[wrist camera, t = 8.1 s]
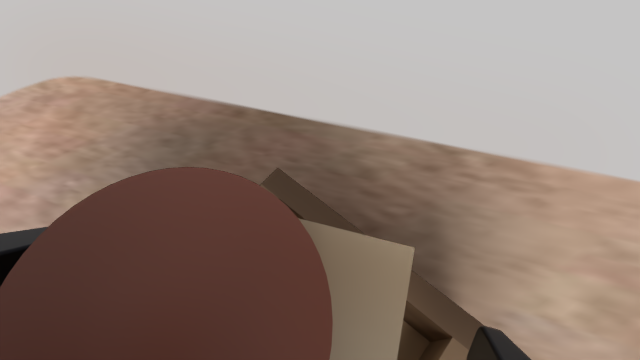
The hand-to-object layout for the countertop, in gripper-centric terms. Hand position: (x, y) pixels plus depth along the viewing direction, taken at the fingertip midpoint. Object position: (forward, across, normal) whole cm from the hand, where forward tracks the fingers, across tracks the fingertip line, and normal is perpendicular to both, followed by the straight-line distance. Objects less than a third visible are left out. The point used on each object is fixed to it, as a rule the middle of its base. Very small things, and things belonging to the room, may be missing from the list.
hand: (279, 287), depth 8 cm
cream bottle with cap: (+4, 0, +6) cm, 8 cm away
